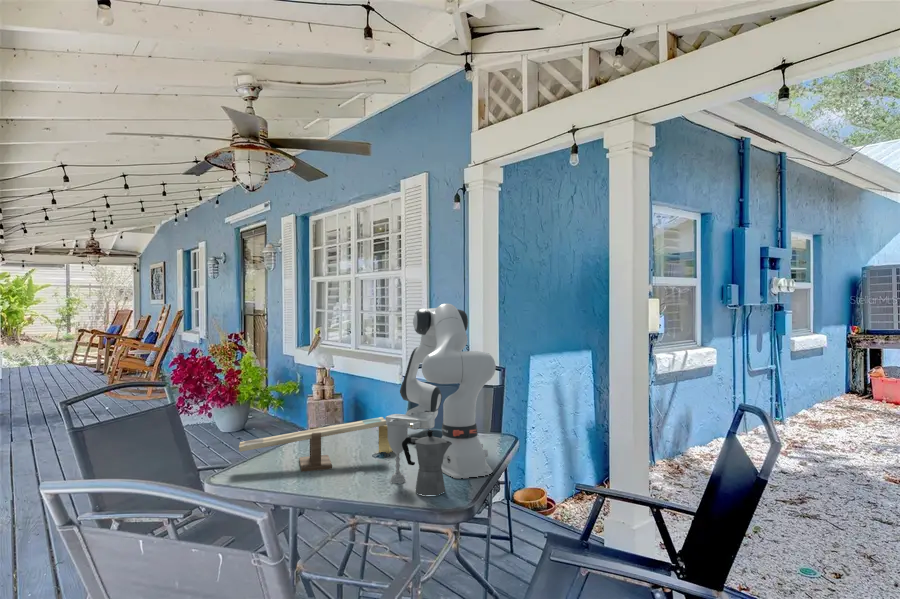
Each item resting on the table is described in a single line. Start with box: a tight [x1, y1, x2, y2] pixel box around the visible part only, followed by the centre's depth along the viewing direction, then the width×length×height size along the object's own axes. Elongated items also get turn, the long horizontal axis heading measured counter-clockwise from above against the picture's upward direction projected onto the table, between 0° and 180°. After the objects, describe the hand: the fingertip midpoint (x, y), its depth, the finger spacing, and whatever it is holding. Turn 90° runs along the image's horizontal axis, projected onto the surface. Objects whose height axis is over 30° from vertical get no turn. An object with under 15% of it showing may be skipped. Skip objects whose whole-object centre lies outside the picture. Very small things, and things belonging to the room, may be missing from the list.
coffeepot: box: [402, 429, 452, 495], centre depth 159 cm, size 15×9×18 cm, turn 75°
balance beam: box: [238, 416, 386, 453], centre depth 187 cm, size 7×49×2 cm, turn 108°
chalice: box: [386, 421, 409, 484], centre depth 168 cm, size 7×7×18 cm
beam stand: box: [298, 426, 333, 473], centre depth 187 cm, size 14×10×12 cm
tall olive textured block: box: [378, 425, 393, 454], centre depth 204 cm, size 4×4×10 cm
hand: (401, 425), depth 215 cm, fingers open, 8 cm apart
